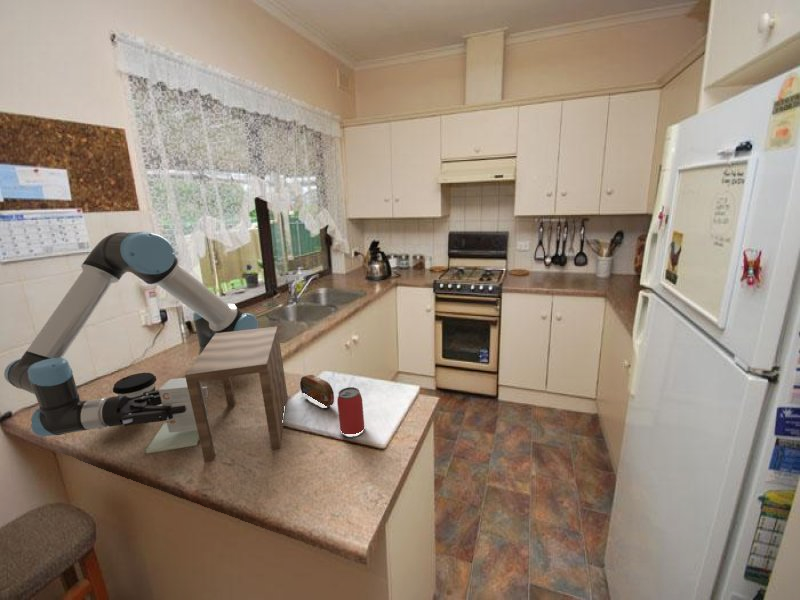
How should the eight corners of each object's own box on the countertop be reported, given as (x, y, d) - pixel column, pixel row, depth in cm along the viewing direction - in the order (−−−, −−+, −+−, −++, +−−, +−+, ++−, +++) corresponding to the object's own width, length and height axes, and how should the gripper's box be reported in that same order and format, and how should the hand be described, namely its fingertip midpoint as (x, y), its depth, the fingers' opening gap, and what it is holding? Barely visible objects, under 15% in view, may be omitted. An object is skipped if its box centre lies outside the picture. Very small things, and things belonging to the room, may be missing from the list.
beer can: (338, 428, 102) (333, 389, 99) (360, 421, 105) (357, 383, 102) (344, 441, 97) (339, 401, 93) (367, 434, 99) (364, 394, 96)
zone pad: (164, 426, 107) (163, 423, 107) (208, 419, 109) (208, 416, 109) (146, 453, 96) (146, 450, 95) (196, 445, 98) (196, 441, 98)
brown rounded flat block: (300, 397, 120) (297, 373, 117) (309, 393, 122) (306, 370, 120) (328, 413, 110) (325, 388, 107) (337, 408, 112) (334, 384, 110)
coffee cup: (113, 422, 111) (102, 386, 107) (148, 403, 121) (139, 369, 117) (138, 428, 107) (128, 391, 104) (172, 408, 117) (163, 373, 114)
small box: (209, 416, 106) (200, 375, 102) (200, 430, 99) (190, 386, 96) (179, 419, 105) (169, 378, 101) (168, 433, 99) (157, 389, 95)
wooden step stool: (229, 403, 118) (215, 333, 111) (287, 394, 121) (277, 326, 115) (204, 462, 91) (184, 374, 85) (279, 448, 95) (266, 363, 88)
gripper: (129, 405, 107) (215, 392, 111) (91, 448, 88) (195, 430, 93) (123, 381, 105) (210, 369, 109) (82, 420, 86) (189, 404, 91)
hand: (203, 397), depth 101 cm, fingers closed on small box, 7 cm apart
